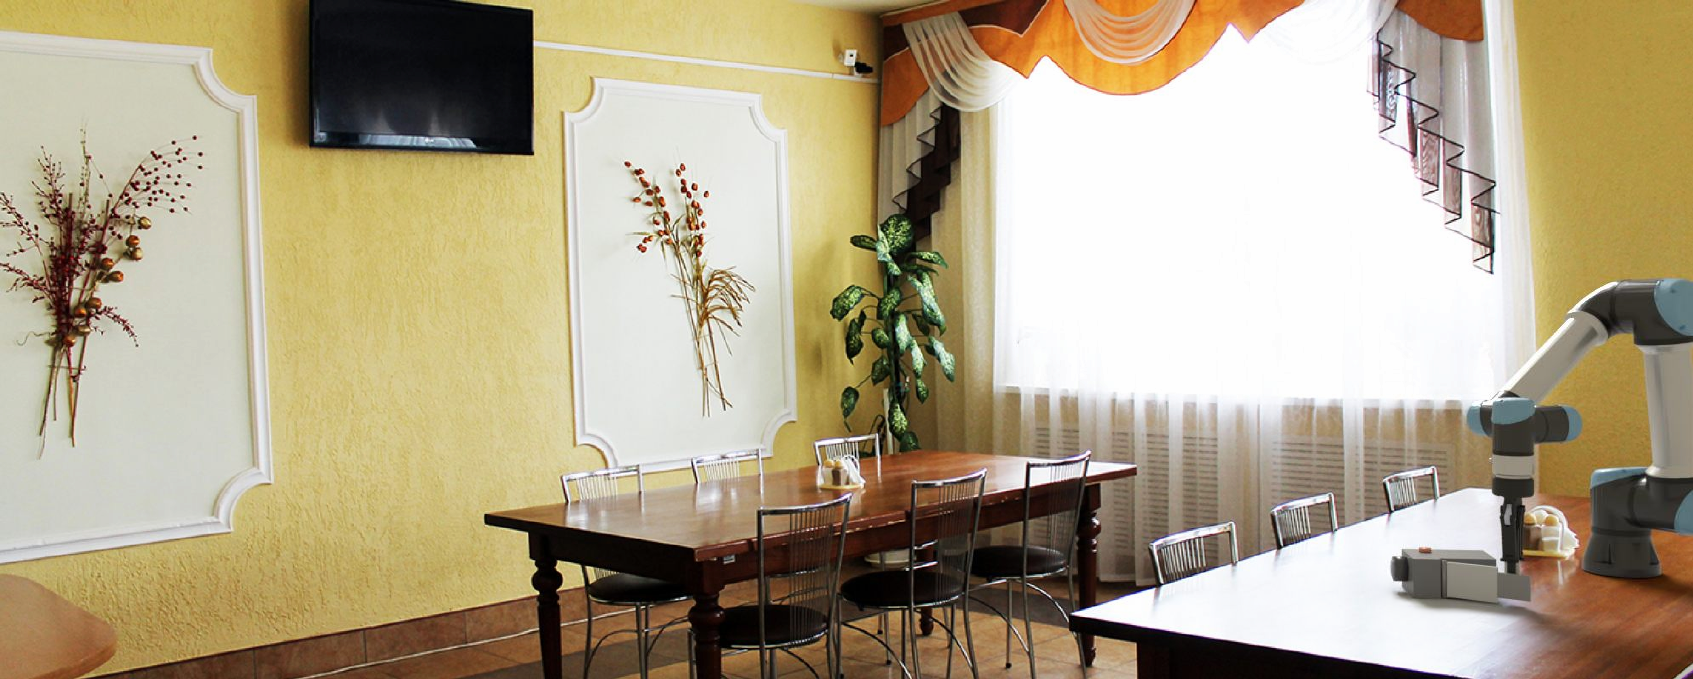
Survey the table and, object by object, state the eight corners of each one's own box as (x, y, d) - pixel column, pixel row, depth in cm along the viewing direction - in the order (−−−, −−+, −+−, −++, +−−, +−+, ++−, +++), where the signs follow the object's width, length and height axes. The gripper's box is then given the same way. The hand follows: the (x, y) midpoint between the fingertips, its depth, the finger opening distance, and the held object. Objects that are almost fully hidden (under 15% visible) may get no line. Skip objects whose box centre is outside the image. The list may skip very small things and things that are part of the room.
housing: (1482, 588, 278) (1482, 546, 278) (1498, 599, 267) (1497, 556, 267) (1388, 585, 282) (1388, 544, 282) (1399, 597, 271) (1399, 554, 271)
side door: (1531, 607, 260) (1531, 569, 259) (1530, 608, 259) (1529, 570, 259) (1442, 596, 270) (1442, 559, 270) (1441, 597, 270) (1441, 560, 269)
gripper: (1498, 470, 270) (1498, 585, 271) (1485, 478, 260) (1485, 597, 261) (1539, 473, 266) (1539, 589, 267) (1528, 481, 255) (1527, 602, 256)
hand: (1512, 593), depth 264 cm, fingers closed
